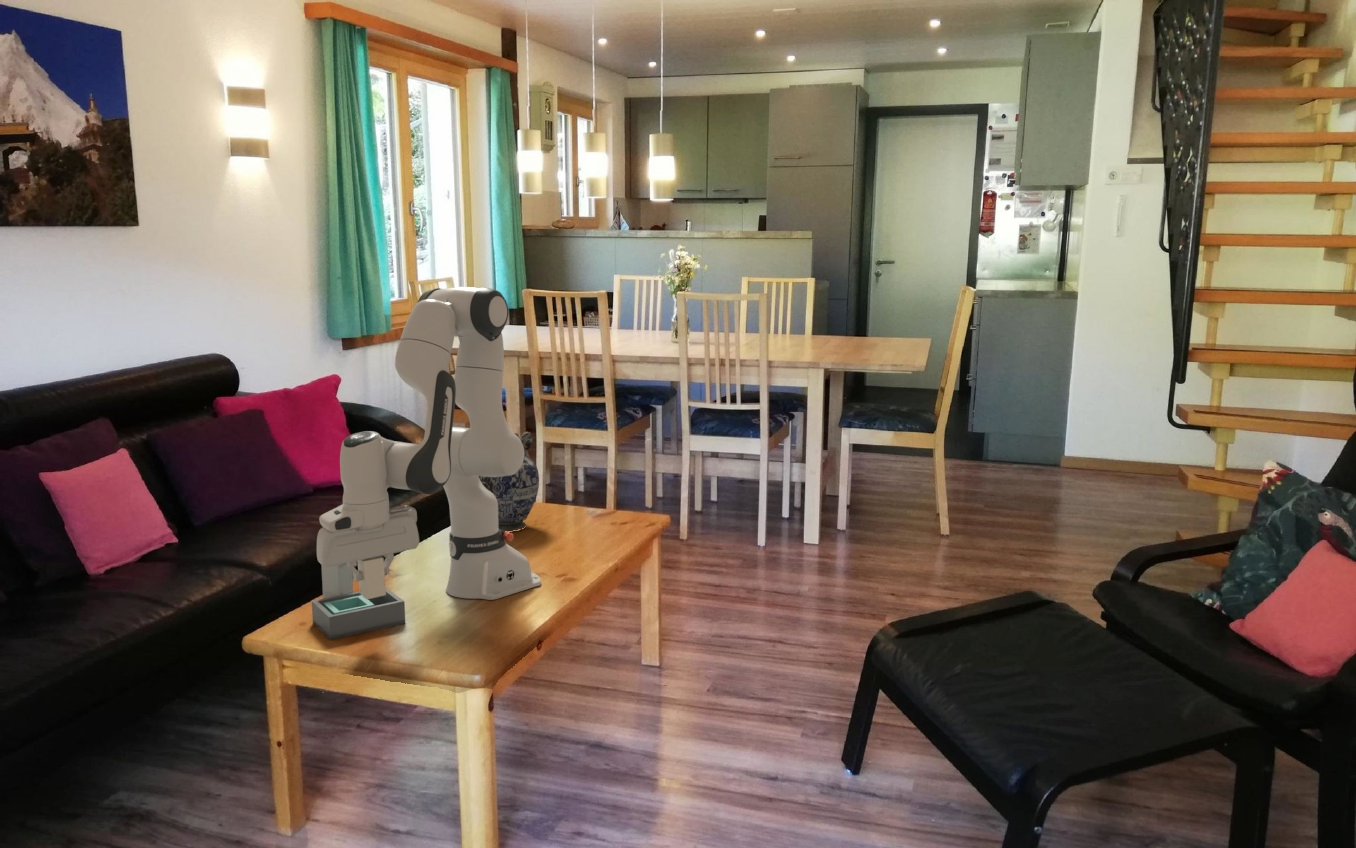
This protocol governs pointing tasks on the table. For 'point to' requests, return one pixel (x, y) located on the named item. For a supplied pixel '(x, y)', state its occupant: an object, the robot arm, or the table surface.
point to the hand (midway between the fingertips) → (371, 577)
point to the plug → (372, 577)
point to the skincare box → (336, 580)
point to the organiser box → (359, 615)
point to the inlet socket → (347, 604)
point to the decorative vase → (515, 491)
